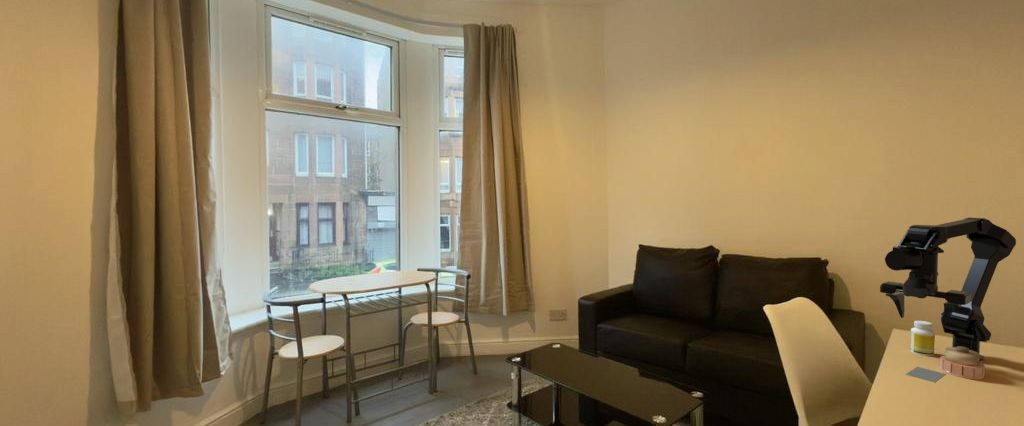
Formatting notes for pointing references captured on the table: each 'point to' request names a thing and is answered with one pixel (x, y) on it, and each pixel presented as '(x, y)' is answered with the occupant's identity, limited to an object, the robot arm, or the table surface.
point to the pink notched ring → (962, 369)
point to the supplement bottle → (922, 338)
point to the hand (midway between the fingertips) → (922, 321)
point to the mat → (925, 374)
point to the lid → (962, 356)
